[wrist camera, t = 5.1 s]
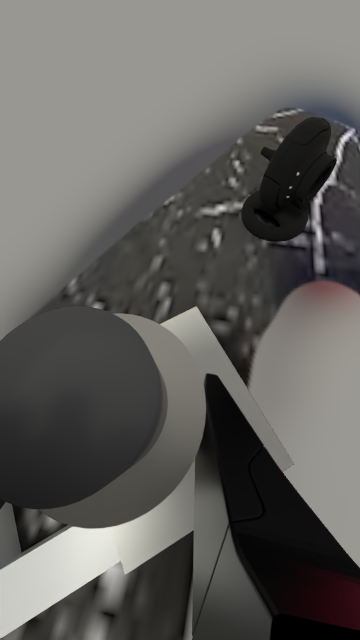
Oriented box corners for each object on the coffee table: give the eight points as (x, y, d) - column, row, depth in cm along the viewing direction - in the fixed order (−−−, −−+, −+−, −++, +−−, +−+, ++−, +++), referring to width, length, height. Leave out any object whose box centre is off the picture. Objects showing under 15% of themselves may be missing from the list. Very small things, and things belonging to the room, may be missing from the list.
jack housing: (268, 454, 19) (294, 464, 15) (-14, 634, 16) (-98, 721, 11) (194, 329, 24) (196, 306, 19) (-40, 448, 20) (-108, 454, 15)
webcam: (277, 255, 27) (324, 166, 18) (226, 218, 29) (245, 123, 20) (318, 217, 29) (380, 120, 20) (268, 186, 31) (302, 85, 22)
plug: (206, 433, 14) (283, 468, 3) (140, 473, 13) (-96, 715, 2) (173, 369, 15) (140, 229, 4) (111, 401, 15) (-111, 332, 4)
